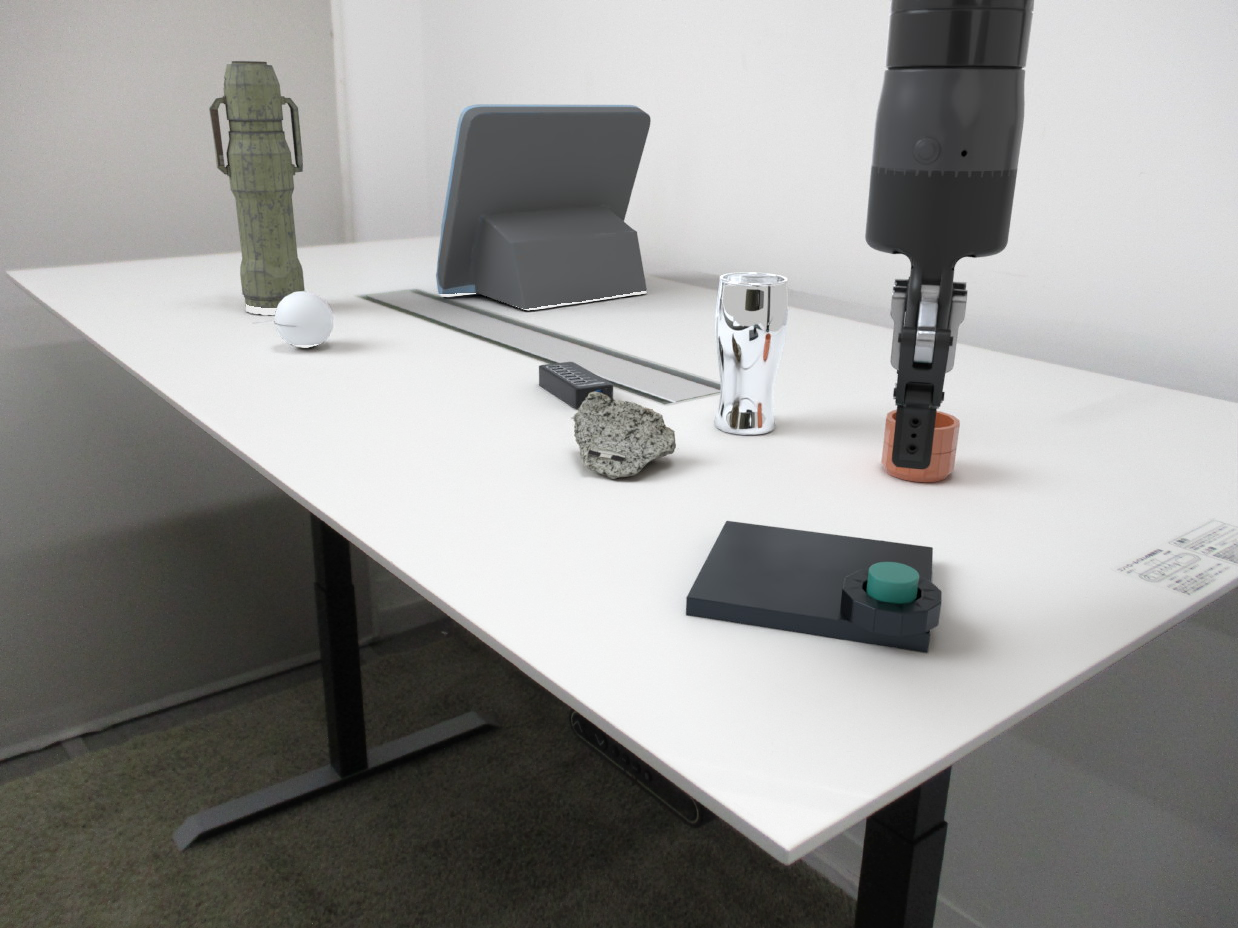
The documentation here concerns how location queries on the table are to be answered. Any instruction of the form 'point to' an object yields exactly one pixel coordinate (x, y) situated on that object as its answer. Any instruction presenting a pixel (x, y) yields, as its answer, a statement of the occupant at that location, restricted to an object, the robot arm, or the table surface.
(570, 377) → the multiport hub
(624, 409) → the rock sample
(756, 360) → the beer glass
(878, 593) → the tare button
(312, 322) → the white ball
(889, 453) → the terracotta cup
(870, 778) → the table surface
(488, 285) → the touchscreen device
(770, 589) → the scale
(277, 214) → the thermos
